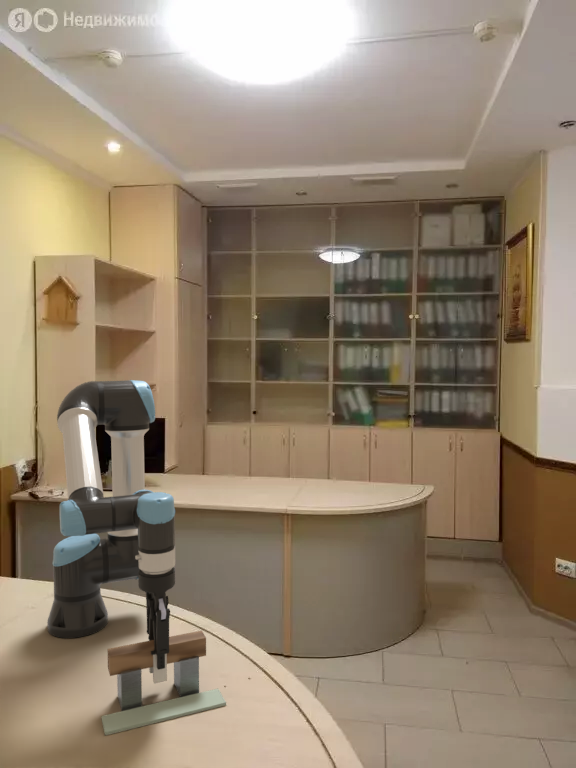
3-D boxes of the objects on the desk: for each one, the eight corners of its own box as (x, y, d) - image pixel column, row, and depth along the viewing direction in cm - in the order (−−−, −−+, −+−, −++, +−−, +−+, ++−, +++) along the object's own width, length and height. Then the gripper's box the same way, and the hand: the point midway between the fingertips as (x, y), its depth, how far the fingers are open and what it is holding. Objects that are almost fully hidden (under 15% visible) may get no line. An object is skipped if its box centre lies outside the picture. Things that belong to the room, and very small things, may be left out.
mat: (101, 719, 118) (101, 716, 118) (218, 691, 128) (218, 688, 128) (104, 735, 113) (104, 732, 113) (226, 705, 123) (226, 702, 123)
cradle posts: (117, 695, 126) (116, 659, 126) (191, 678, 132) (191, 643, 132) (121, 712, 120) (121, 673, 120) (199, 693, 127) (198, 657, 126)
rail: (107, 667, 124) (107, 648, 123) (201, 648, 132) (201, 630, 131) (110, 676, 121) (109, 656, 120) (206, 655, 129) (206, 637, 128)
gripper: (132, 557, 131) (133, 660, 132) (145, 585, 116) (147, 702, 117) (166, 552, 134) (167, 653, 135) (184, 579, 119) (185, 693, 120)
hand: (158, 676), depth 126 cm, fingers closed on rail, 3 cm apart
